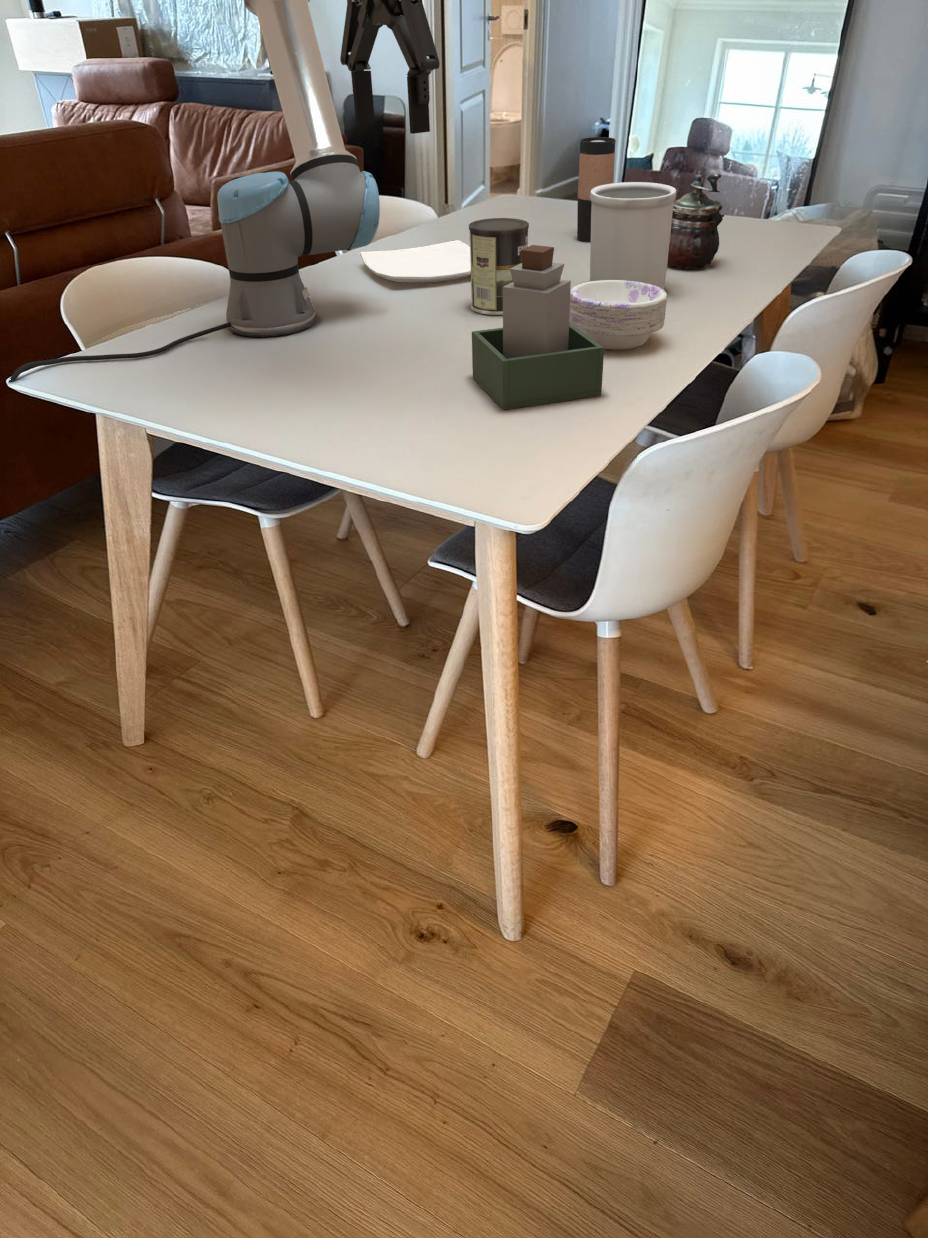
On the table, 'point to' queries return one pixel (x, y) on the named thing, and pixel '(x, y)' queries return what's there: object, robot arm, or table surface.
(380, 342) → the table surface
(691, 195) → the coffee grinder
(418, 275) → the plate
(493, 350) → the tote
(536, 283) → the perfume bottle
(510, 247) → the coffee can
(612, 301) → the paper bowls
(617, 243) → the utensil holder
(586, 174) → the travel mug
